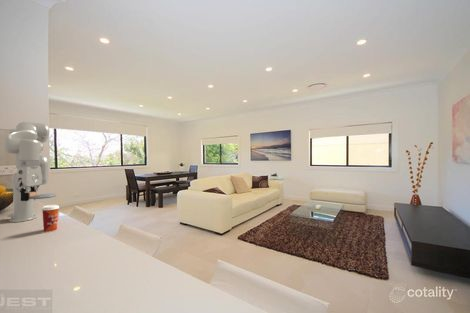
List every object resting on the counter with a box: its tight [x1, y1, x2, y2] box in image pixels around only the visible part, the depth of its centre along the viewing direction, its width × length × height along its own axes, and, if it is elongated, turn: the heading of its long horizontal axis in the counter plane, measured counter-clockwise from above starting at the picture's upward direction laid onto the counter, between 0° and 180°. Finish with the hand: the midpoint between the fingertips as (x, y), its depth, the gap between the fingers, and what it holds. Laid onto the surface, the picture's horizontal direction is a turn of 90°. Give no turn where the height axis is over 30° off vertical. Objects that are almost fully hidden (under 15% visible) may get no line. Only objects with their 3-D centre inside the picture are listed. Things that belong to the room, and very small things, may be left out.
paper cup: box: [41, 204, 60, 233], centre depth 120 cm, size 8×8×14 cm
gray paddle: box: [28, 191, 57, 200], centre depth 105 cm, size 14×10×2 cm
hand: (28, 199), depth 104 cm, fingers closed on gray paddle, 3 cm apart
